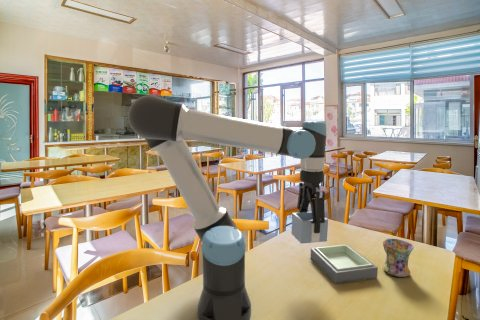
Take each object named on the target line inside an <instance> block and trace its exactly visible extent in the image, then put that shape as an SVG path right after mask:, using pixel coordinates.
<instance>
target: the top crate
mask: <svg viewBox="0 0 480 320" xmlns="http://www.w3.org/2000/svg"><path fill="white" fill-rule="evenodd" d="M336 245H337V246H335V245H328V247H325V246H318V247H319V248H316V247H314V248H315V250H316V251H317V252H318V253H319V254H320V255H321V256H322V257H323V258H324V259H325V260H326V261H327V262H328V263H329V264H330V265H331V266H332V267H333V268H334V269H335V270H336V271H343V270H351V269H358V268H366V267H372V264H371V263H372V262H371V261H370V262H371V263H370V262H368V261H367V260H368V259H367V258H366V259H367V260H366V259H364V258H363V257H364V256H363V255H362V256H363V257H362V256H360V255H359V254H360V253H359V252H358V253H359V254H358V253H356V252H355V251H356V250H355V249H354V250H355V251H354V250H352V249H351V248H352V247H351V246H350V247H351V248H350V247H348V246H347V245H348V244H347V245H344V244H336Z"/></svg>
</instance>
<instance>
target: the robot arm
mask: <svg viewBox="0 0 480 320" xmlns="http://www.w3.org/2000/svg"><path fill="white" fill-rule="evenodd" d="M127 121H128V124H129V126H130V128H131V129H132V131H133V132H134V133H135V134H136V135H138V136H139V137H141V138H143V139H144V140H145V143H146V144H147V146H148V148H149V149H150V151H154V152H157V153H158V155H159V156H160V158H161V160H162V163H163V164H164V166H165V167H166V169H167V171H168V173H169V175H170V177H171V178H172V180H173V183H174V184H175V186H176V187H177V190H178V191H179V193H180V195H181V197H182V198H183V201H184V202H185V204H186V206H187V207H188V210H189V212H190V213H191V215H192V217H193V219H194V221H193V225H192V227H193V229H194V231H195V233H196V235H197V237H198V238H199V240H200V242H201V252H202V253H201V254H202V255H201V256H202V284H203V285H202V286H203V287H202V290H201V293H200V297H199V300H198V303H197V317H198V318H197V319H198V320H250V318H251V315H252V303H251V299H250V297H249V294H248V291H247V288H246V285H245V284H246V276H245V275H246V272H245V271H246V264H245V263H246V262H245V261H246V241H245V237H244V234H243V233H242V231H241V230H239V229H238V227H237V225H236V223H235V221H234V220H232V218H231V216H230V214H229V212H228V211H227V208H225V207H223V206H220V204H219V203H218V202H217V199H216V198H215V196H214V194H213V192H212V190H211V188H210V185H209V184H208V182H207V181H206V179H205V177H204V175H203V173H202V171H201V169H200V167H199V166H198V163H197V162H196V160H195V158H194V156H193V153H192V152H191V150H190V148H189V146H188V144H187V143H186V140H190V141H197V142H203V143H209V144H215V145H221V146H227V147H233V148H239V149H246V150H252V151H258V152H264V153H270V154H276V155H281V156H287V157H292V158H293V159H300V163H299V164H300V166H299V167H300V172H299V181H301V182H299V183H298V185H299V187H298V188H299V189H298V196H297V197H298V198H297V206H296V207H297V210H298V212H310V211H309V205H310V208H311V212H312V217H313V221H312V222H311V242H314V243H320V242H319V239H320V224H321V223H325V215H326V214H325V213H326V212H325V211H326V210H325V195H326V192H325V190H322V191H321V187H320V184H322V183H323V182H324V181H325V180H324V179H325V171H324V169H325V162H326V159H325V156H326V145H327V144H326V142H327V124H326V122H325V121H303V122H302V125H301V126H300V127H287V126H282V125H277V124H271V123H266V122H260V121H255V120H248V119H243V118H240V117H239V118H238V117H234V116H233V117H232V116H228V115H223V114H215V113H211V112H206V111H205V112H204V111H200V110H194V109H189V108H187V107H186V106H185V105H184V103H178V102H176V101H175V102H174V101H170V100H168V99H166V98H163V97H160V96H158V95H153V94H147V95H142V96H139V97H138V98H136V99H135V100H134V101H133V102H132V104H131V105H130V107H129V108H128V112H127Z"/></svg>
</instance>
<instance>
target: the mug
mask: <svg viewBox="0 0 480 320" xmlns="http://www.w3.org/2000/svg"><path fill="white" fill-rule="evenodd" d="M382 245H383V250H384V251H385V254H386V260H385V262H384V264H383V265H382V269H383V271H384V272H386V273H387V274H389V275H391V276H394V277H399V278H406V277H408V276H410V274H411V271H410V269H409V257H410V255H411V254H412V251H413V250H414V245H413V244H412V243H410V242H409V241H406V240H403V239H398V238H386V239H384V240H383V242H382Z"/></svg>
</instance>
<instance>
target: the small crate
mask: <svg viewBox="0 0 480 320" xmlns="http://www.w3.org/2000/svg"><path fill="white" fill-rule="evenodd" d="M312 221H313V217H312V211H309V212H299V211H298V212H292V214H291V235H292V236H293V237H294V238H295V239H296V240H297V241H298V242H299V243H300V244H313V243H315V242H311V222H312ZM328 227H329V219H328V218H327V217H325V223H321V224H320V239H319V242H318V243H324V242H327V241H328Z"/></svg>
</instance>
